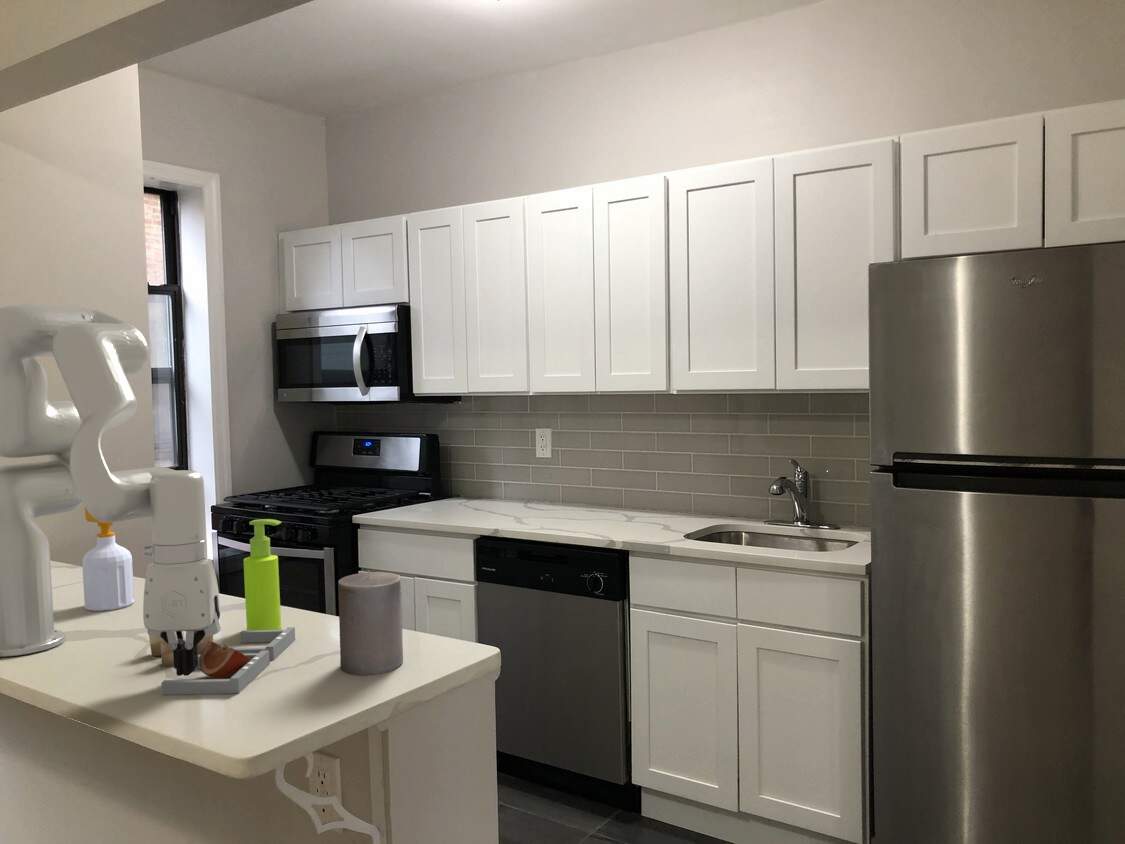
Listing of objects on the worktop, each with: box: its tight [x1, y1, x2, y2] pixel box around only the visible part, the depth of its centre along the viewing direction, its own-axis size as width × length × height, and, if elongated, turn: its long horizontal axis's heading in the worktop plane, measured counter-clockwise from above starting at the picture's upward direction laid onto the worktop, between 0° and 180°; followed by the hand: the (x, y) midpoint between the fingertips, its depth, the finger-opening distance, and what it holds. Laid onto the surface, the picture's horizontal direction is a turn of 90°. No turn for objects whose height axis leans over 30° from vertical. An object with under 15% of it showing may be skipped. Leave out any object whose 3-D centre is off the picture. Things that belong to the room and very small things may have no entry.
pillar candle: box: [337, 570, 404, 676], centre depth 142 cm, size 10×10×15 cm
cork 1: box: [148, 635, 162, 657], centre depth 151 cm, size 3×3×4 cm
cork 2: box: [160, 639, 174, 668], centre depth 146 cm, size 3×3×4 cm
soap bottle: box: [81, 507, 135, 612], centre depth 183 cm, size 9×9×25 cm
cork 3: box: [197, 635, 215, 655], centre depth 150 cm, size 3×3×4 cm
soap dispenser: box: [243, 518, 283, 631], centre depth 163 cm, size 6×7×20 cm
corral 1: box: [161, 650, 271, 696], centre depth 137 cm, size 11×13×2 cm
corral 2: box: [232, 626, 296, 661], centre depth 151 cm, size 9×11×2 cm
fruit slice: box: [200, 641, 250, 679], centre depth 138 cm, size 8×7×5 cm
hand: (186, 672), depth 137 cm, fingers closed
